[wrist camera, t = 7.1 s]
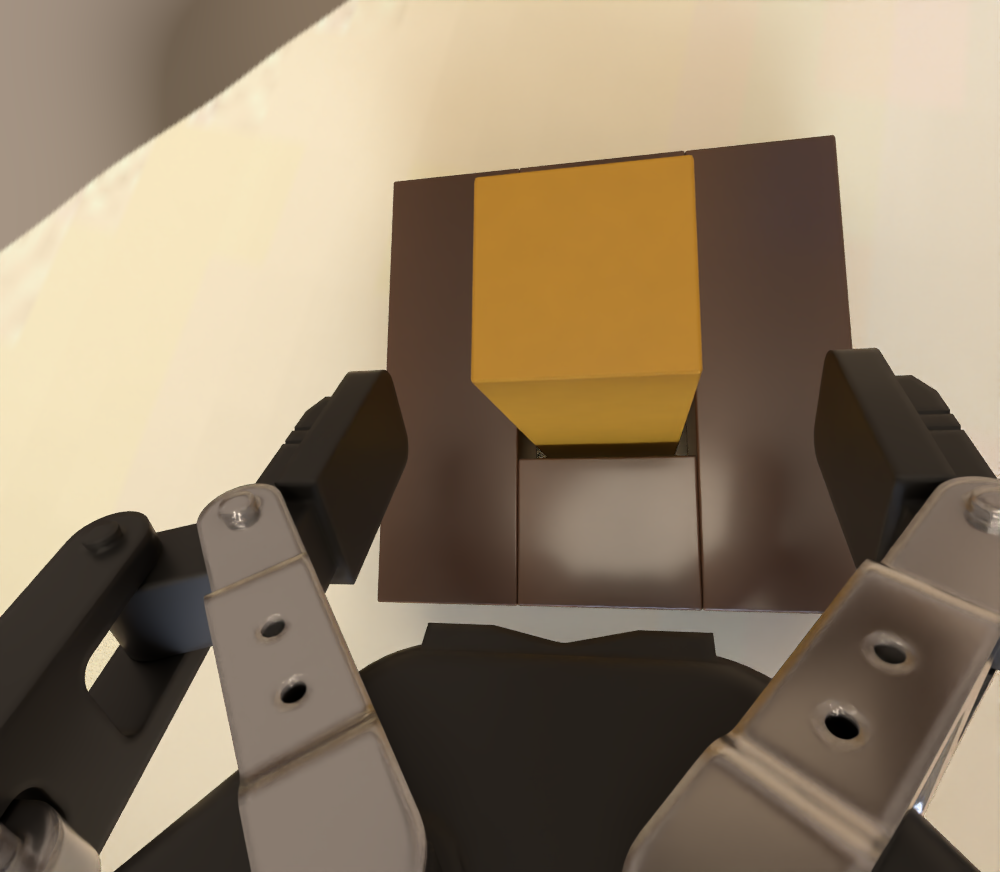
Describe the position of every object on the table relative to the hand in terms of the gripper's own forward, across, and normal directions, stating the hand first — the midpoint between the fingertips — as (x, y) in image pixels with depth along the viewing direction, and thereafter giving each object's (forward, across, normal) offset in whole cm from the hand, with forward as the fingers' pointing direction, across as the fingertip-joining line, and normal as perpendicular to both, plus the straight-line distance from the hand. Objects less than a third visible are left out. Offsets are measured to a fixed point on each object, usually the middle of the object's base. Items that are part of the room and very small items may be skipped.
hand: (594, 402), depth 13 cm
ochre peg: (+8, 0, +5) cm, 9 cm away
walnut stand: (+8, 0, +5) cm, 9 cm away
